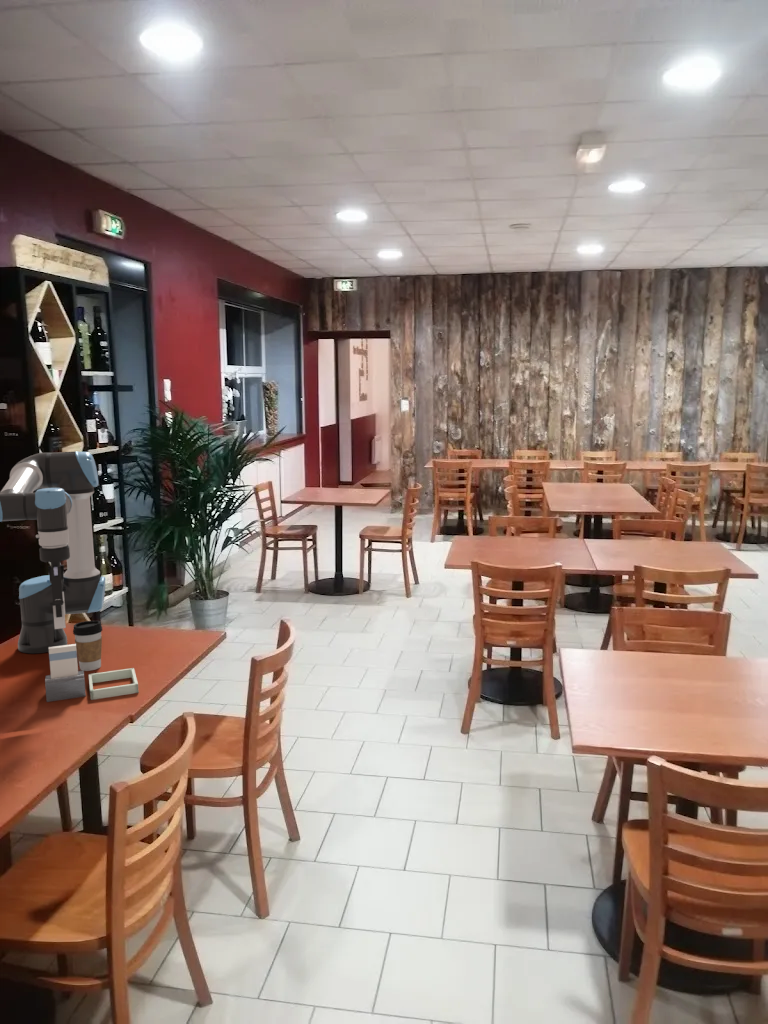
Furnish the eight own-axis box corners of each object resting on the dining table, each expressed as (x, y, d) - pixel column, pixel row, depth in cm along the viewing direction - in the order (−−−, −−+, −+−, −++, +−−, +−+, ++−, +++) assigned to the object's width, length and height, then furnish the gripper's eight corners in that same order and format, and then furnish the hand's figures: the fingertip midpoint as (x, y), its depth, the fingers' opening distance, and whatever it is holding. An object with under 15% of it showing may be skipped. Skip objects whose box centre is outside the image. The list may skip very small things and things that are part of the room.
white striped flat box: (52, 695, 217) (48, 647, 215) (79, 691, 220) (75, 643, 218) (52, 697, 216) (48, 648, 214) (79, 693, 218) (76, 645, 216)
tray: (89, 685, 227) (88, 674, 226) (134, 679, 231) (133, 667, 231) (91, 703, 214) (90, 691, 214) (138, 695, 219) (138, 684, 218)
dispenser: (47, 695, 219) (45, 673, 218) (85, 690, 223) (83, 668, 222) (46, 705, 213) (45, 682, 212) (86, 699, 217) (84, 676, 216)
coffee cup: (95, 676, 234) (92, 628, 232) (70, 674, 236) (66, 626, 233) (110, 666, 242) (107, 619, 240) (86, 664, 244) (82, 618, 241)
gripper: (40, 538, 221) (46, 611, 224) (37, 555, 198) (44, 636, 201) (68, 536, 224) (74, 608, 227) (69, 552, 201) (75, 632, 204)
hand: (60, 621), depth 214 cm, fingers open, 13 cm apart
